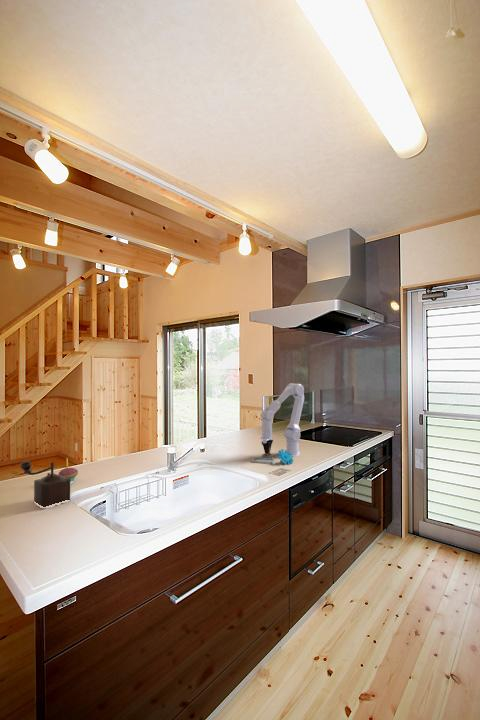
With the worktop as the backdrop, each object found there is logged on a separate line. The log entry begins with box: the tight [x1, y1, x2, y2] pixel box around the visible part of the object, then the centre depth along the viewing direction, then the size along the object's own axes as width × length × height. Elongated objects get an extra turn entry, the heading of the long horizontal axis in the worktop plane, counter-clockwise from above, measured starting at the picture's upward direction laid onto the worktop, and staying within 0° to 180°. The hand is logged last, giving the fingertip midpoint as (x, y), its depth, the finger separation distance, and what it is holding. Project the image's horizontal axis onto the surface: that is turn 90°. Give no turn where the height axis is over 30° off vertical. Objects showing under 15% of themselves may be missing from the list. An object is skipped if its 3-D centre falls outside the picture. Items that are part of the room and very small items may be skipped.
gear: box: [277, 448, 295, 466], centre depth 194 cm, size 11×6×10 cm
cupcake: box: [58, 458, 79, 482], centre depth 164 cm, size 9×8×12 cm
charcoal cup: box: [261, 452, 274, 458], centre depth 205 cm, size 6×6×2 cm
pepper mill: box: [20, 460, 71, 507], centre depth 139 cm, size 16×11×18 cm
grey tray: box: [250, 456, 276, 465], centre depth 197 cm, size 8×12×1 cm
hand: (267, 452), depth 205 cm, fingers closed on oak pin, 3 cm apart
